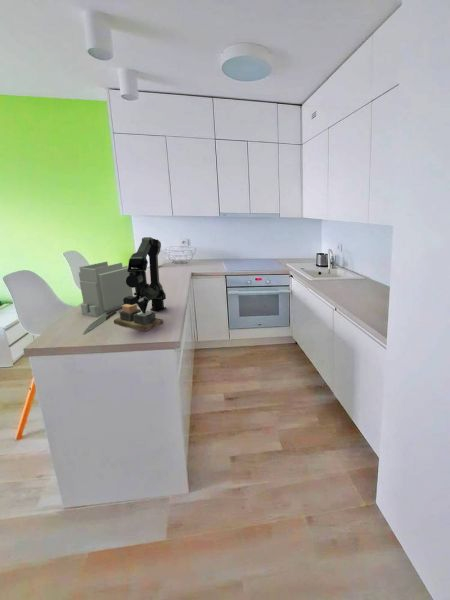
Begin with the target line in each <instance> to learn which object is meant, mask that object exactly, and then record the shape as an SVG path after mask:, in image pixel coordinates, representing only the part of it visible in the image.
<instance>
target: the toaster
mask: <svg viewBox="0 0 450 600" xmlns="http://www.w3.org/2000/svg"><path fill="white" fill-rule="evenodd" d="M129 273H130V272H128V265H125V266H123V262H118V263H113V264H110V265H109V264H108V261H103V262H98V263H94V264H89V265H84V266H79V272H78V278H79V285H80V290H81V292H80V293H81V297H82V302H83V303H82V304H80V308H81V315H84V316H89V317H94V318H96V317H97V318H98V317H100V316H101V315H103V314H105V313H106V314H110V313H112V312H114V311H117V310H118V309H121V308H122V306H123V305H125V304H124V303H123V299H124V298H125V297H128V296H134V292H133V288H131V287H129V286H128V285H127V284H126V278H127V277H128V276H129Z"/></svg>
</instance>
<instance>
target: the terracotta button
mask: <svg viewBox="0 0 450 600" xmlns="http://www.w3.org/2000/svg"><path fill="white" fill-rule="evenodd" d="M121 308H122V311H123V312H126V313H132V312H134V311H137V309H138V305H137V304H134V305H129V304H124V305H122V307H121Z"/></svg>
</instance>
